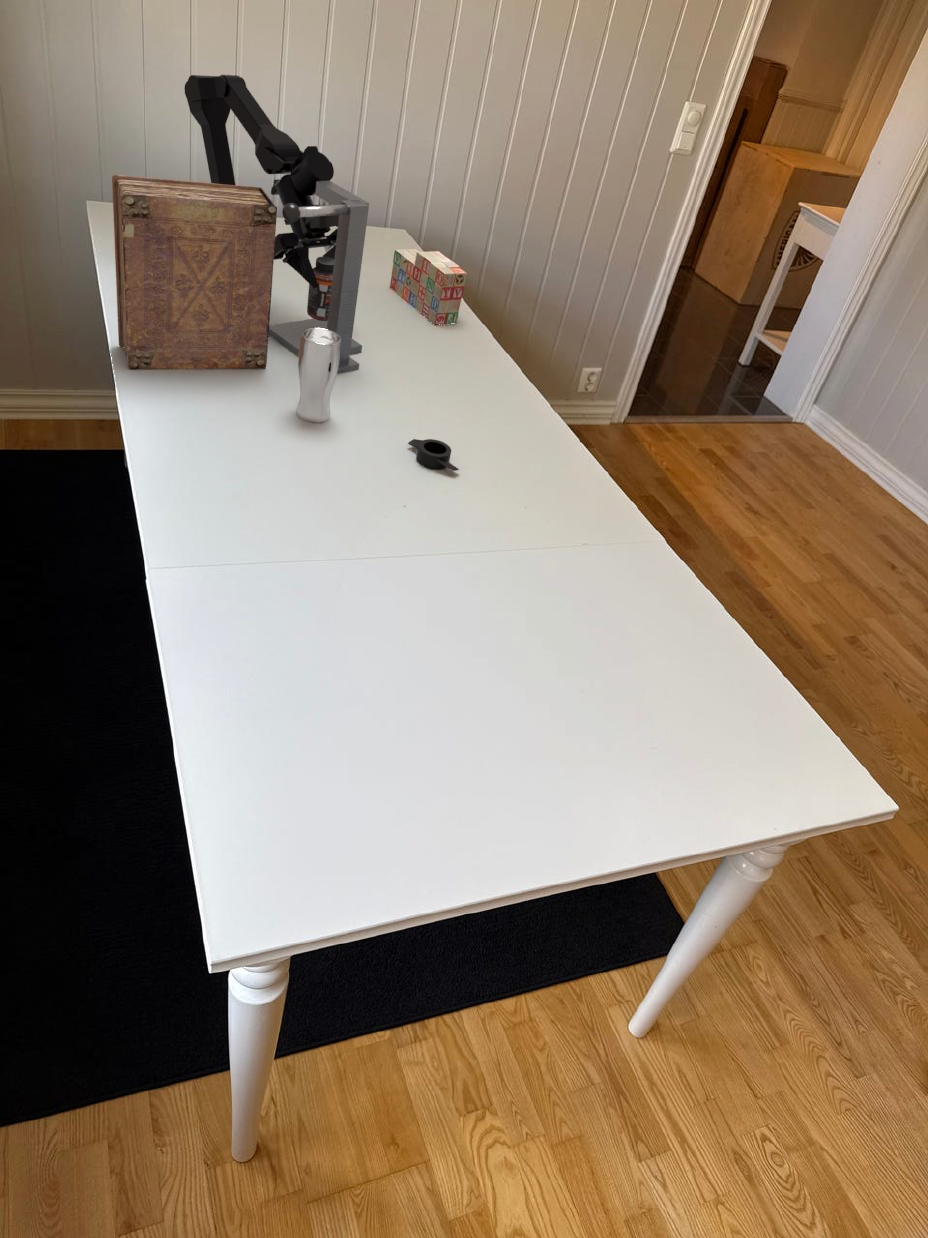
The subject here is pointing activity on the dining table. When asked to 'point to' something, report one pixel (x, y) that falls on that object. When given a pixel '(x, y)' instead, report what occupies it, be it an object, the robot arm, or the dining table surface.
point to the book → (193, 273)
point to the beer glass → (317, 373)
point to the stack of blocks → (429, 284)
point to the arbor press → (334, 271)
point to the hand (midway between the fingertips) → (328, 285)
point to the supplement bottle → (321, 289)
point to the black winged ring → (433, 454)
